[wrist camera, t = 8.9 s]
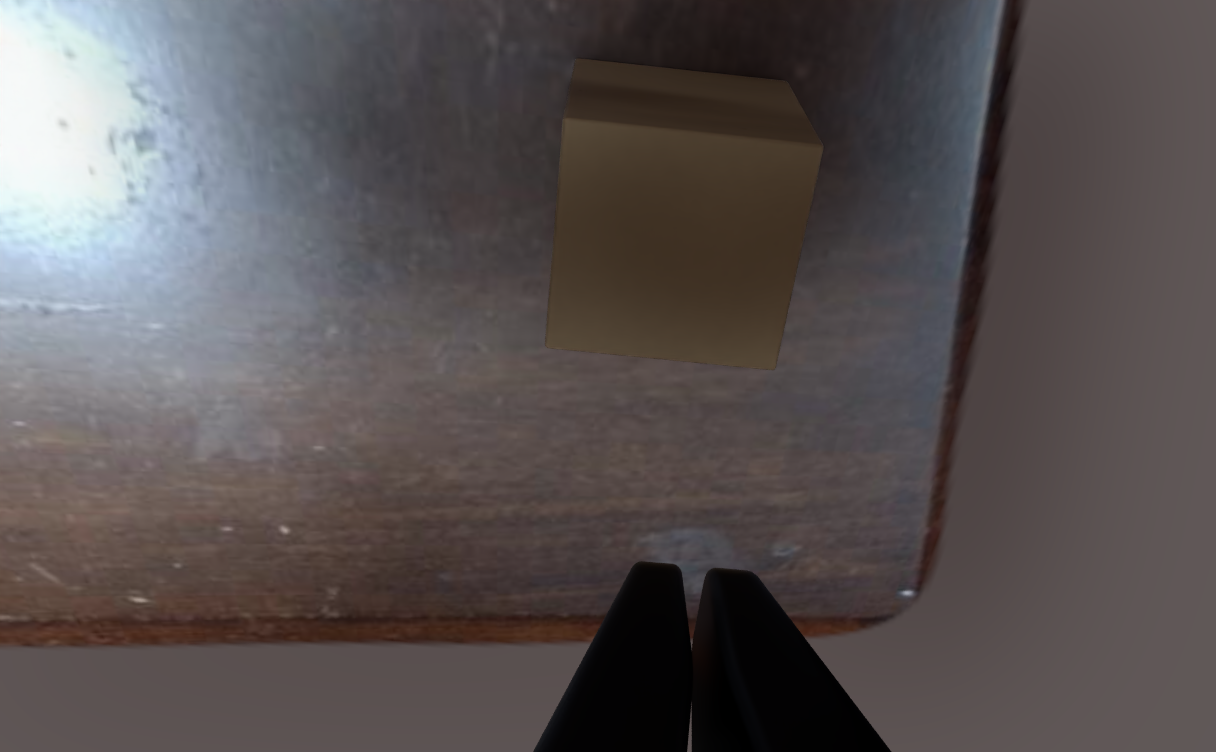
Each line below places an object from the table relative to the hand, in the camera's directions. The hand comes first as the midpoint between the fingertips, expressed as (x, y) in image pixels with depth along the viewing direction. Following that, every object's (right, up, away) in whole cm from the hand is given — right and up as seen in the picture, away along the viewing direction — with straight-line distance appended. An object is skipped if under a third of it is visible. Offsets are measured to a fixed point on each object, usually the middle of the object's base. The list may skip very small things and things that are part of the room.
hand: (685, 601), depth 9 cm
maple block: (0, +6, +10) cm, 12 cm away
